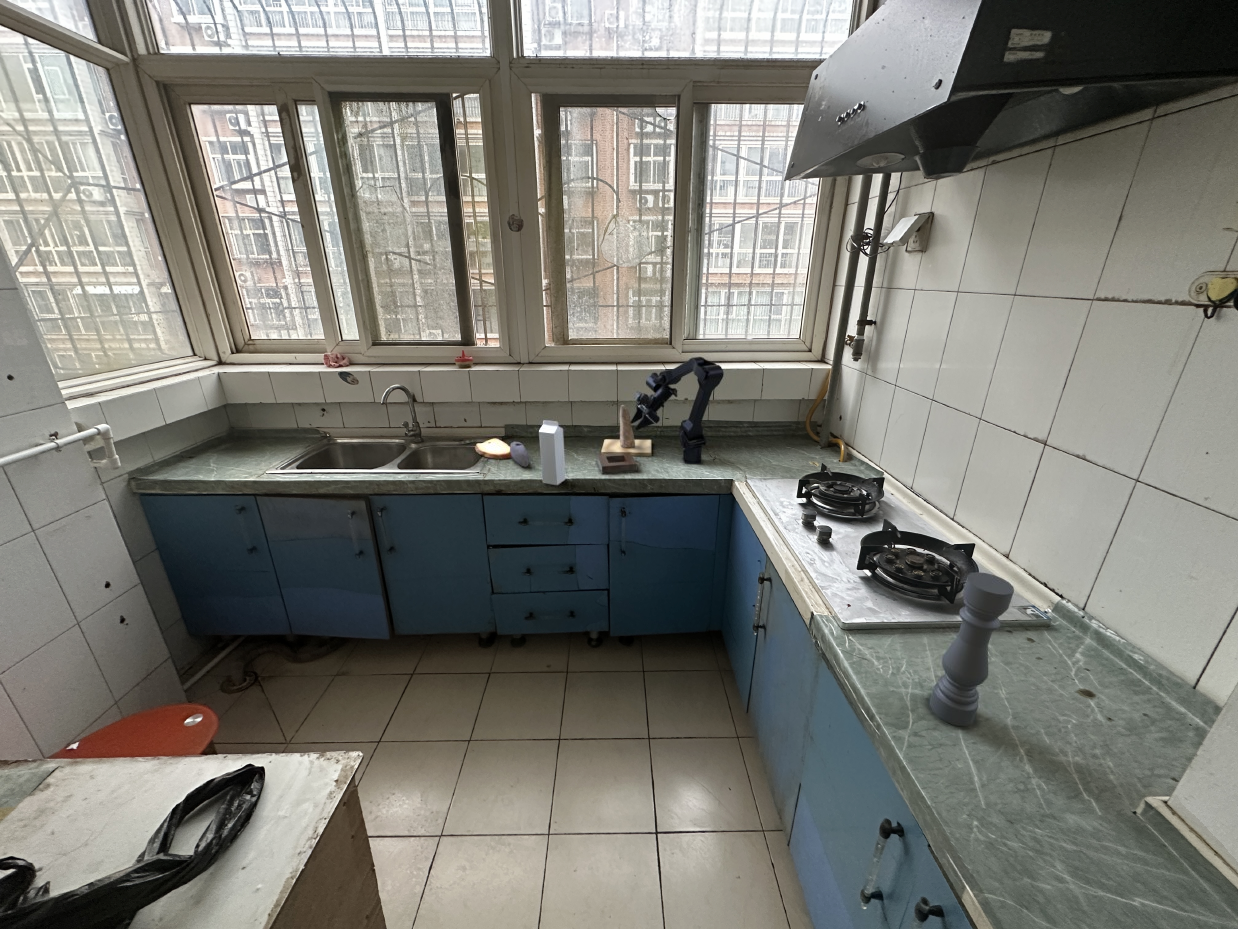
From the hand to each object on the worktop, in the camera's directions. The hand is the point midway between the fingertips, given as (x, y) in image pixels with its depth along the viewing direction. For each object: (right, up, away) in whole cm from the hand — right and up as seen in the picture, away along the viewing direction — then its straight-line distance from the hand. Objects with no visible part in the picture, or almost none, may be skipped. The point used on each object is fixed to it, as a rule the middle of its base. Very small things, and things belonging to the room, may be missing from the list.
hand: (633, 426), depth 202 cm
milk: (-29, -22, -27) cm, 45 cm away
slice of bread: (-57, -10, +3) cm, 58 cm away
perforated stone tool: (-43, -15, -10) cm, 47 cm away
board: (-2, -9, +4) cm, 10 cm away
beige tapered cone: (-2, -8, +3) cm, 9 cm away
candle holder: (+49, -57, -119) cm, 141 cm away
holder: (-7, -16, -14) cm, 23 cm away
